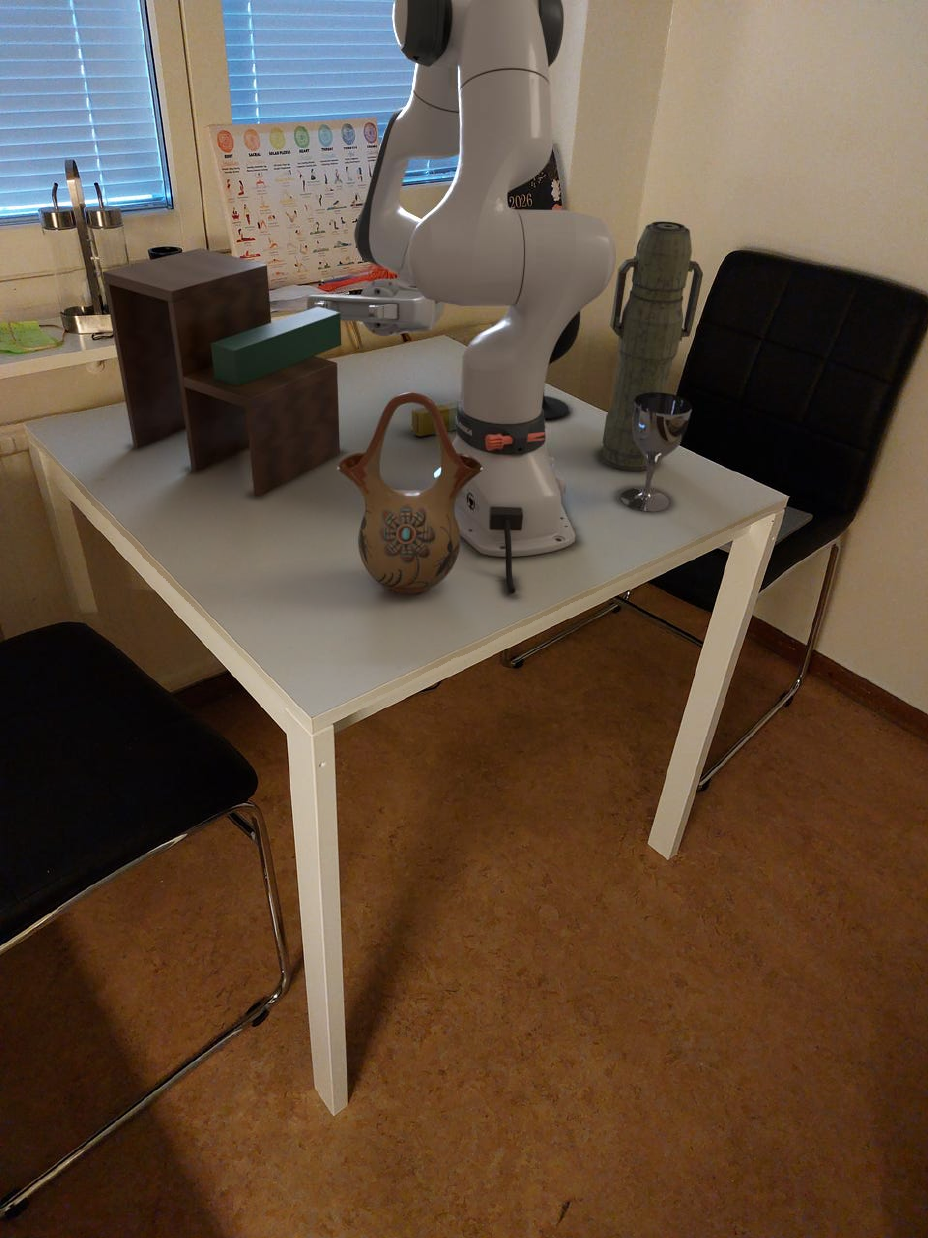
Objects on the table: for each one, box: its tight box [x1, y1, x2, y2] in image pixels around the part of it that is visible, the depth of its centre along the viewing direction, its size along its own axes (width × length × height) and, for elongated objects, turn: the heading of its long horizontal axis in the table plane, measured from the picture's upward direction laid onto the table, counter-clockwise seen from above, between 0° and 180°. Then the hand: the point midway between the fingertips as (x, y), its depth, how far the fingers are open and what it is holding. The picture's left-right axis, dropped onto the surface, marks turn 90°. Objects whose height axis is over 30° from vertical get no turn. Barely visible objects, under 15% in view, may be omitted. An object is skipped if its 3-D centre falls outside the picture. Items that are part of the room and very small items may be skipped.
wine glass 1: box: [542, 310, 581, 421], centre depth 152 cm, size 10×10×20 cm
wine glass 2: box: [620, 392, 693, 513], centre depth 127 cm, size 8×8×15 cm
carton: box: [211, 307, 342, 387], centre depth 128 cm, size 22×4×5 cm, turn 147°
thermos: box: [600, 220, 704, 472], centre depth 133 cm, size 9×12×35 cm
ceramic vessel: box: [336, 391, 483, 595], centre depth 103 cm, size 16×9×25 cm, turn 95°
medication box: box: [410, 400, 461, 437], centre depth 147 cm, size 12×3×4 cm, turn 122°
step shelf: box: [101, 247, 341, 497], centre depth 131 cm, size 18×26×26 cm
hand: (345, 310), depth 135 cm, fingers open, 8 cm apart
